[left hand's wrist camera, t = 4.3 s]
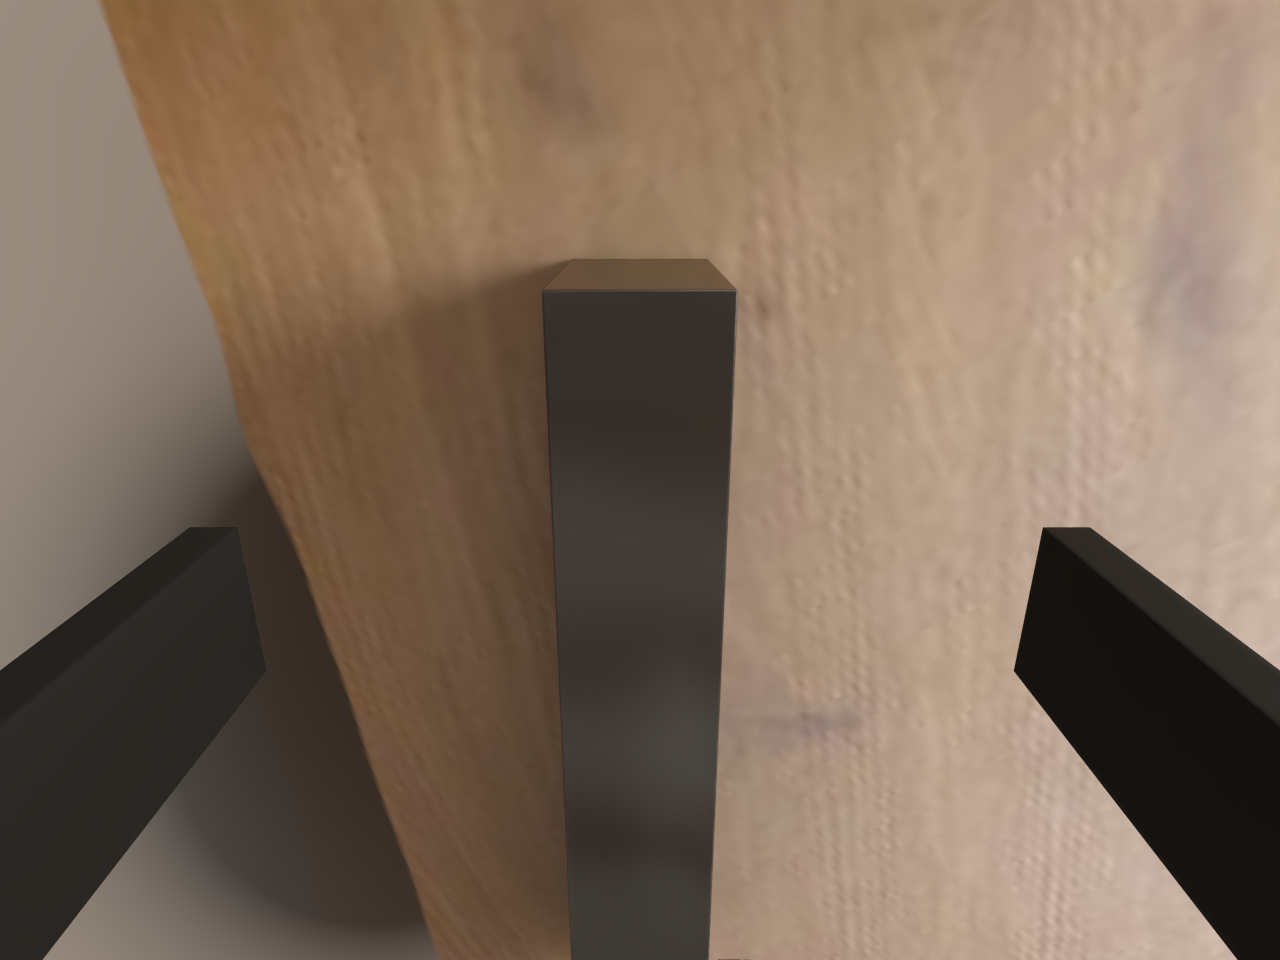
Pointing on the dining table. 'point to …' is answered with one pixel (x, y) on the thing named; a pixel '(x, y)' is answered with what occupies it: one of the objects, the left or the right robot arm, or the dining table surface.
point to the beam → (639, 590)
